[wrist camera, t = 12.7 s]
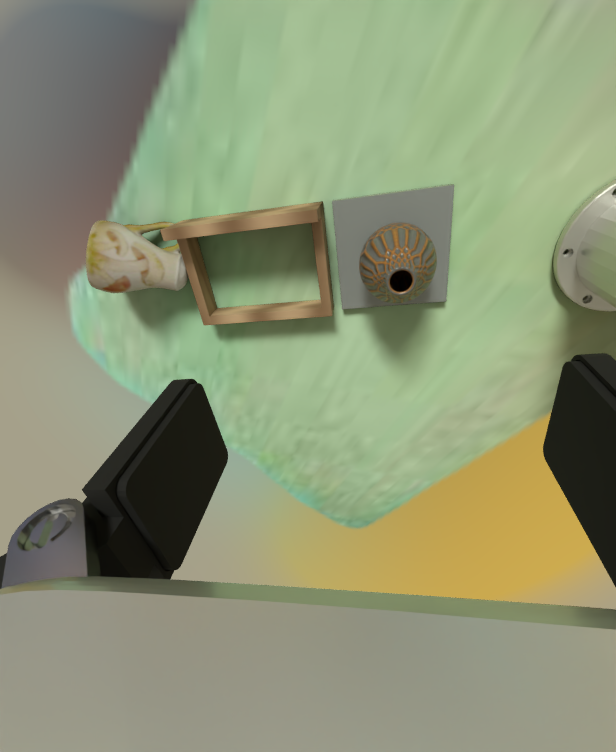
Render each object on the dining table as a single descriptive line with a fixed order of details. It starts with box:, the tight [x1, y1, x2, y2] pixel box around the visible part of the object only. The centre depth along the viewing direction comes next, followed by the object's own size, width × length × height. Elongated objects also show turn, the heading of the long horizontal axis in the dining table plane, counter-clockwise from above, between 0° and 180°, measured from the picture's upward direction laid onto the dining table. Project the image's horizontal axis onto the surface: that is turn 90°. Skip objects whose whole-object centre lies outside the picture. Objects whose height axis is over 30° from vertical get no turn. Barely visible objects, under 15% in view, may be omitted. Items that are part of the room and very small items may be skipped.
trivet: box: [332, 184, 454, 309], centre depth 36 cm, size 11×11×1 cm
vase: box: [359, 222, 437, 303], centre depth 32 cm, size 7×7×9 cm
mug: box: [86, 221, 188, 293], centre depth 38 cm, size 8×10×10 cm
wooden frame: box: [160, 202, 334, 325], centre depth 37 cm, size 15×11×5 cm
